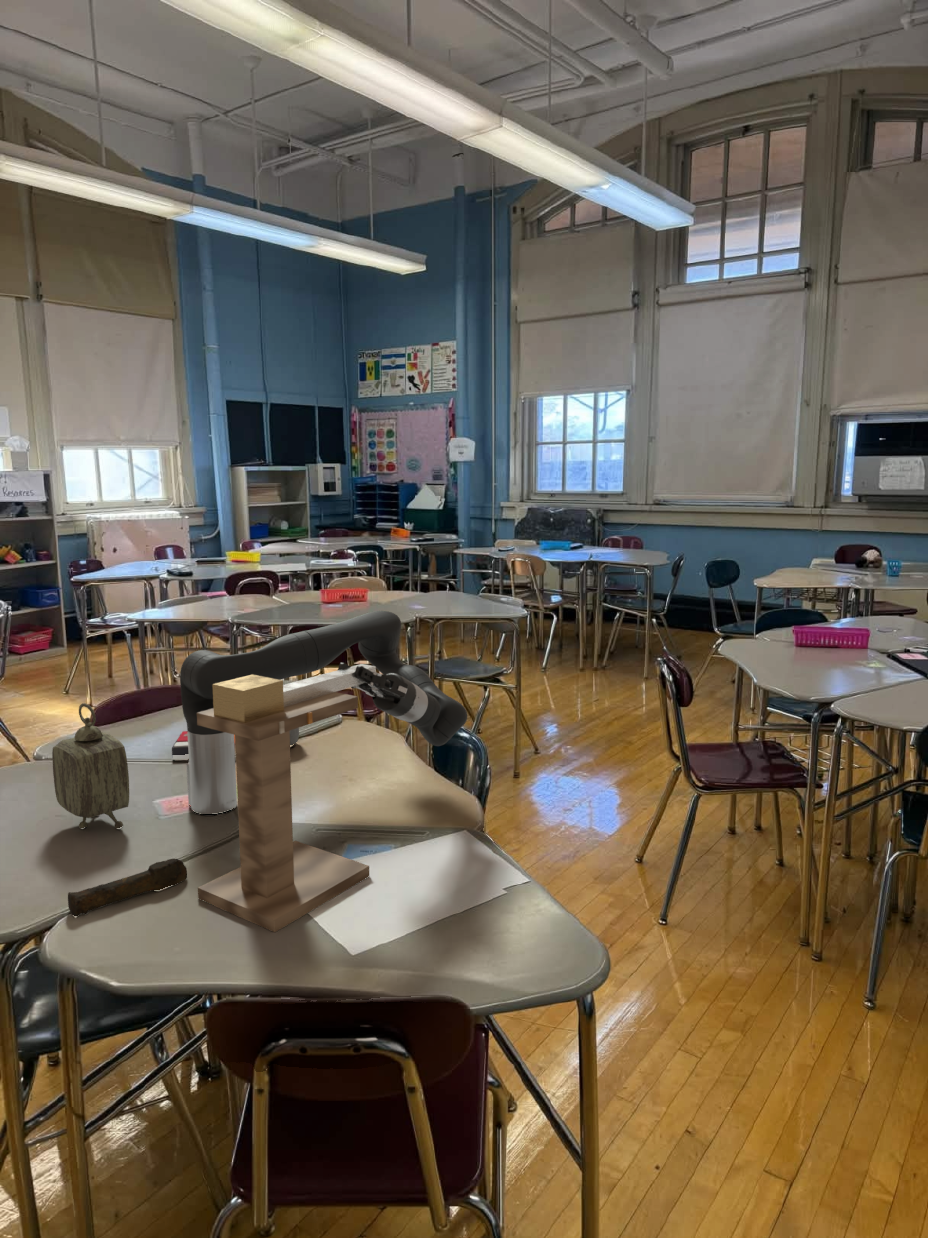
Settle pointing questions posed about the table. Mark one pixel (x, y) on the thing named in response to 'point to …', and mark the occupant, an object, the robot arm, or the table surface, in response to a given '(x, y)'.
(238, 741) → the stand
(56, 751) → the tabletop clock
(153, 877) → the hand tool
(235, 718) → the bar
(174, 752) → the red black flat block
